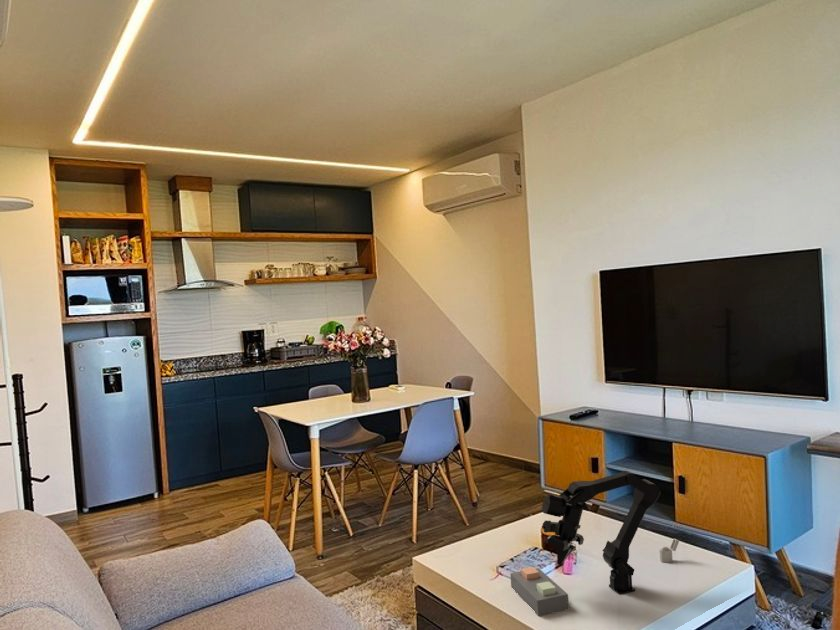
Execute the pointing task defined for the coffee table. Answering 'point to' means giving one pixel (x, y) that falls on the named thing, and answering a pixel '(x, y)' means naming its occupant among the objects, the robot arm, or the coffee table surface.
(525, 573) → the terracotta key
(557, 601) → the keypad
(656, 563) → the coffee table surface
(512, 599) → the coffee table surface
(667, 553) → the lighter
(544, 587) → the sage key
